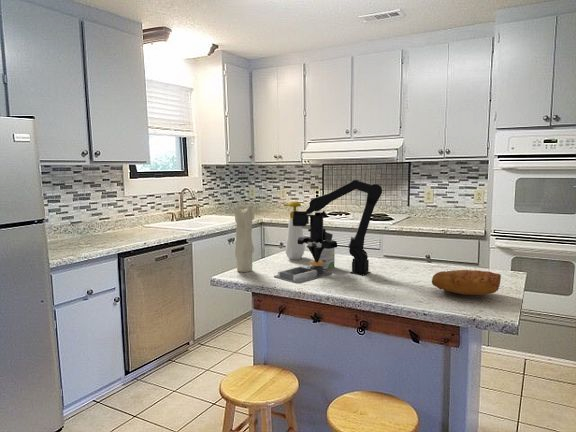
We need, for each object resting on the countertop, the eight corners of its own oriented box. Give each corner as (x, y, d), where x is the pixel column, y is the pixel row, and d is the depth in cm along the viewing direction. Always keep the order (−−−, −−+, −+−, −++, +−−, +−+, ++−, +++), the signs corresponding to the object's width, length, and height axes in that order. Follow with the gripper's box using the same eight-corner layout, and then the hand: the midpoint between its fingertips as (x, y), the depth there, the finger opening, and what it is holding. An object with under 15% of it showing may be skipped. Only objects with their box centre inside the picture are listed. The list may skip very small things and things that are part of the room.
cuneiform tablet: (503, 292, 150) (504, 270, 150) (495, 305, 137) (496, 281, 136) (440, 283, 163) (441, 263, 162) (427, 294, 149) (427, 272, 148)
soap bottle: (291, 255, 220) (290, 200, 217) (308, 257, 215) (308, 200, 212) (278, 260, 209) (277, 202, 206) (296, 262, 204) (295, 202, 201)
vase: (258, 270, 189) (256, 203, 186) (245, 274, 182) (244, 205, 179) (243, 267, 194) (241, 203, 190) (230, 271, 187) (229, 204, 183)
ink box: (328, 265, 196) (328, 240, 195) (335, 267, 192) (335, 242, 191) (313, 268, 192) (313, 242, 190) (320, 270, 188) (320, 244, 186)
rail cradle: (332, 273, 180) (332, 267, 180) (297, 283, 166) (297, 276, 166) (308, 268, 190) (308, 263, 190) (274, 277, 176) (273, 271, 176)
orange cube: (323, 269, 184) (323, 261, 183) (317, 271, 181) (317, 263, 180) (316, 268, 187) (316, 260, 187) (309, 269, 184) (309, 261, 184)
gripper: (345, 226, 181) (345, 262, 182) (313, 223, 194) (313, 256, 196) (328, 229, 173) (328, 266, 175) (296, 225, 186) (296, 259, 188)
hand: (316, 261), depth 183 cm, fingers closed, pressing on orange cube
